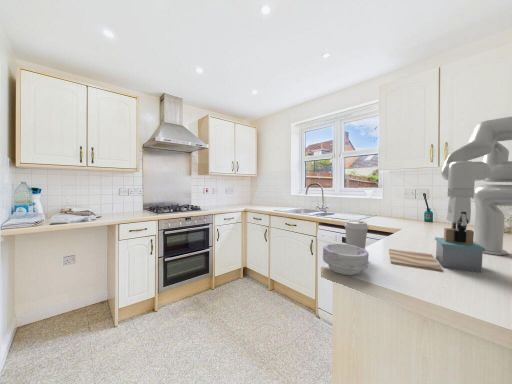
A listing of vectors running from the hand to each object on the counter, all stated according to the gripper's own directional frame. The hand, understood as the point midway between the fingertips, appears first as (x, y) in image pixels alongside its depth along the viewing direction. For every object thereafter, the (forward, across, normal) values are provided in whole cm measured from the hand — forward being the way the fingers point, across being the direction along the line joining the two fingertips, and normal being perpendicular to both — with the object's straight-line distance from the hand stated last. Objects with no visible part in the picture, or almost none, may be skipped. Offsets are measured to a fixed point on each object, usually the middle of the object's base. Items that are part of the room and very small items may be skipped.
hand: (458, 240), depth 87 cm
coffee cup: (+10, +10, -36) cm, 38 cm away
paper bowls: (+10, +28, -38) cm, 48 cm away
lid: (+3, 0, 0) cm, 3 cm away
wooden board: (+10, +1, -14) cm, 18 cm away
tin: (+10, 0, 0) cm, 10 cm away
